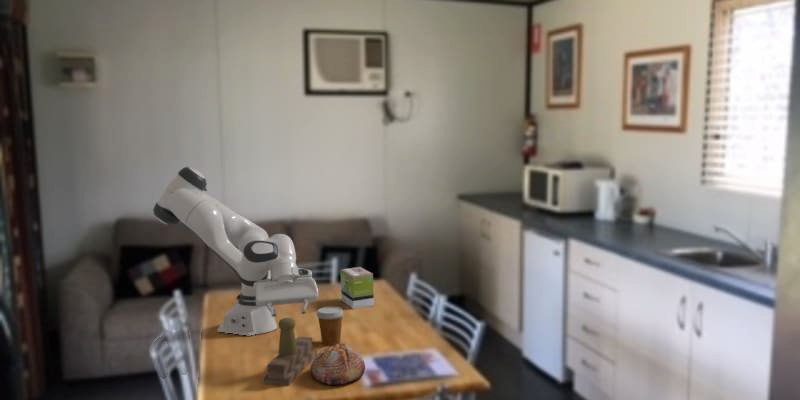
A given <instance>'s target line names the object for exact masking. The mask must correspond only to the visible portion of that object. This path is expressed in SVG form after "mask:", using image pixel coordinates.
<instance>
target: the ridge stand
mask: <svg viewBox="0 0 800 400" xmlns="http://www.w3.org/2000/svg"><path fill="white" fill-rule="evenodd" d="M295 339H296V345H297V350H298V353H297V354H295V355H291V356H281V355H279V354H278V355H276V357H275V358H273V359H272V360H271V361H270V362H269V363H268V364H267V374H265V376H264V377H263V385H274V384H276V385H275V386H277V385H278V386H290V385H291V384H292V383H293V382H294V381H295V380H296V378H297V377H298V376H299V375H300V374H301V373H302V372H303V371H304V370H305V369H306V367H307V366H308V365H309V364H310V363H312V362H313V360H314V358H315V357H316V356H317V355H318V352H317V350H318V349H316V348H315V349H314V348H313V337H299V336H298V337H295Z"/></svg>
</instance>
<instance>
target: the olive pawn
mask: <svg viewBox="0 0 800 400" xmlns="http://www.w3.org/2000/svg"><path fill="white" fill-rule="evenodd" d="M295 327H296V321H295V319H294V318H292V317H284V318H281V319H280V320H279V321H278V329H280V330H279V331H280V332H279V344H278V355H281V356H291V355H295V354H297V353H298V350H297V345H296V335H295Z"/></svg>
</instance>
